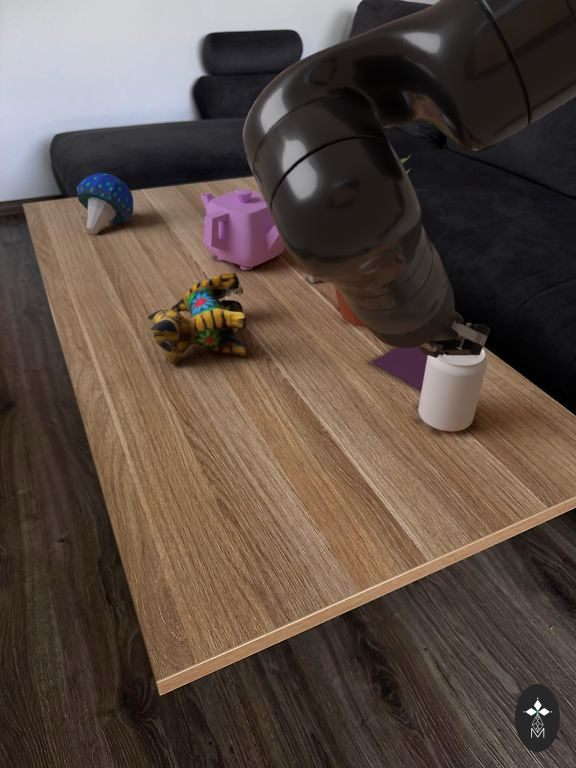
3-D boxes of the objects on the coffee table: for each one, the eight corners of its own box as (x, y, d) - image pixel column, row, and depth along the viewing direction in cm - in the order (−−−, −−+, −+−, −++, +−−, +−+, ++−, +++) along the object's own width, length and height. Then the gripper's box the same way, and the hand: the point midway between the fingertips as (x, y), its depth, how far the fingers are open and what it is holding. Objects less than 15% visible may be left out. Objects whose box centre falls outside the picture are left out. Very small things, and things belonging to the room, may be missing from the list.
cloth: (470, 369, 99) (470, 366, 99) (430, 396, 93) (430, 393, 93) (413, 340, 106) (413, 337, 106) (372, 363, 100) (372, 361, 100)
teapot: (204, 241, 140) (199, 177, 131) (280, 238, 142) (280, 174, 133) (206, 278, 125) (200, 209, 116) (291, 274, 127) (292, 205, 118)
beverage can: (417, 397, 93) (428, 332, 86) (470, 402, 92) (486, 337, 85) (417, 431, 86) (430, 364, 79) (474, 437, 85) (492, 370, 78)
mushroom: (53, 207, 136) (80, 153, 140) (74, 236, 150) (98, 187, 153) (110, 225, 135) (135, 170, 139) (126, 253, 149) (148, 203, 152)
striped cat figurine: (239, 330, 116) (146, 336, 112) (239, 268, 111) (142, 271, 106) (262, 369, 99) (153, 378, 94) (263, 298, 93) (148, 303, 89)
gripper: (500, 263, 43) (512, 333, 58) (341, 223, 49) (390, 296, 64) (460, 358, 42) (483, 403, 58) (305, 307, 48) (363, 359, 64)
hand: (434, 347), depth 61 cm, fingers closed
